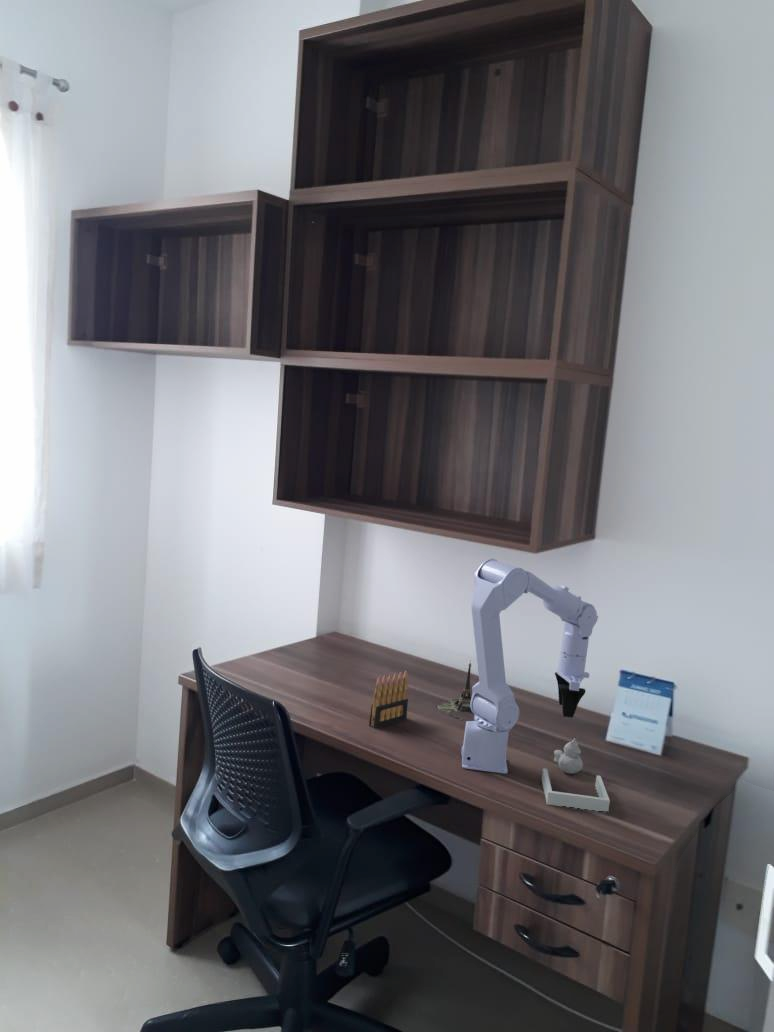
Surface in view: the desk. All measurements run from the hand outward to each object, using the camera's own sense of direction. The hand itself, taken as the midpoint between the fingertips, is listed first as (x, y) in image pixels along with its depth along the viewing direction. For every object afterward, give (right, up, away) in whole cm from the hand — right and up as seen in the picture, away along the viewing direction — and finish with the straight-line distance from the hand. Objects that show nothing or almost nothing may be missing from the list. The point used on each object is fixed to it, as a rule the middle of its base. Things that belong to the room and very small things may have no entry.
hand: (565, 710), depth 184 cm
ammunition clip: (-40, -5, +7) cm, 41 cm away
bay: (-3, -12, -20) cm, 24 cm away
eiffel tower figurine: (-21, -5, +22) cm, 31 cm away
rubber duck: (-2, -11, -10) cm, 15 cm away
